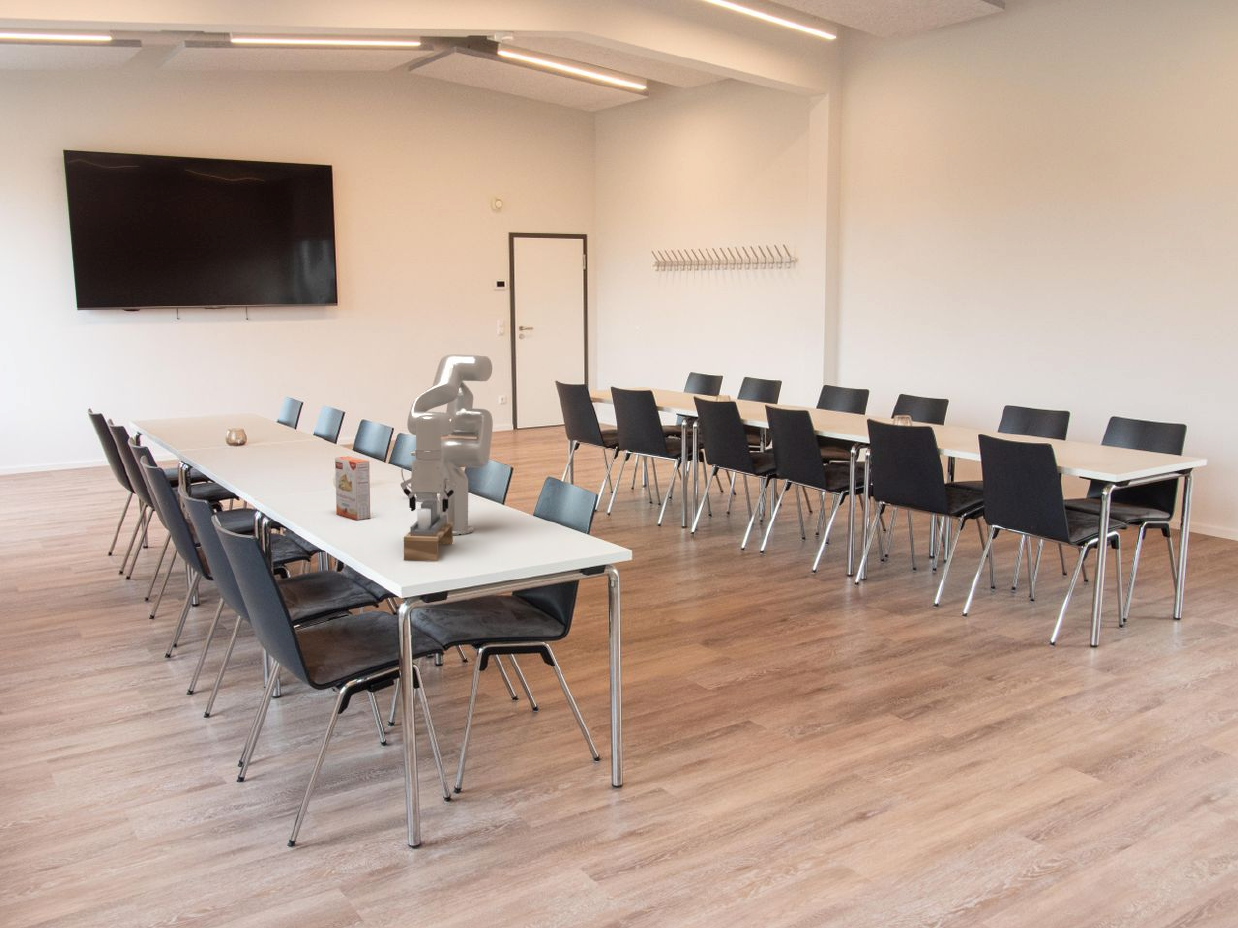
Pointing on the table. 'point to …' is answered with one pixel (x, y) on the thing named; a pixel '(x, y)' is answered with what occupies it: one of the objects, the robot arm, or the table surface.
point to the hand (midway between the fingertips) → (428, 510)
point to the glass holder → (422, 496)
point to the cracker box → (352, 488)
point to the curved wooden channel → (427, 544)
